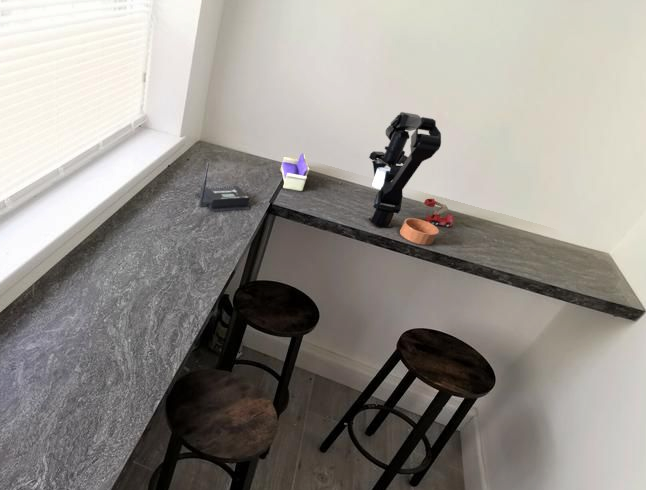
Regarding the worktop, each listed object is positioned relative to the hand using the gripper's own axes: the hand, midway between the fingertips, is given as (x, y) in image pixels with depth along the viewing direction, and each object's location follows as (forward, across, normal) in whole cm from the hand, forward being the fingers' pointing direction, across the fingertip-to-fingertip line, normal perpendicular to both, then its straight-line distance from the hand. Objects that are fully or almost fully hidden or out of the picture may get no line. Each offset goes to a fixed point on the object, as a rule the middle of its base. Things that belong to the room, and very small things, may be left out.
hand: (380, 183), depth 200 cm
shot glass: (+2, 0, 0) cm, 2 cm away
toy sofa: (+10, +22, +27) cm, 37 cm away
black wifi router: (+10, +1, +68) cm, 69 cm away
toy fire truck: (+10, -16, -20) cm, 27 cm away
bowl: (+10, -26, -4) cm, 28 cm away
